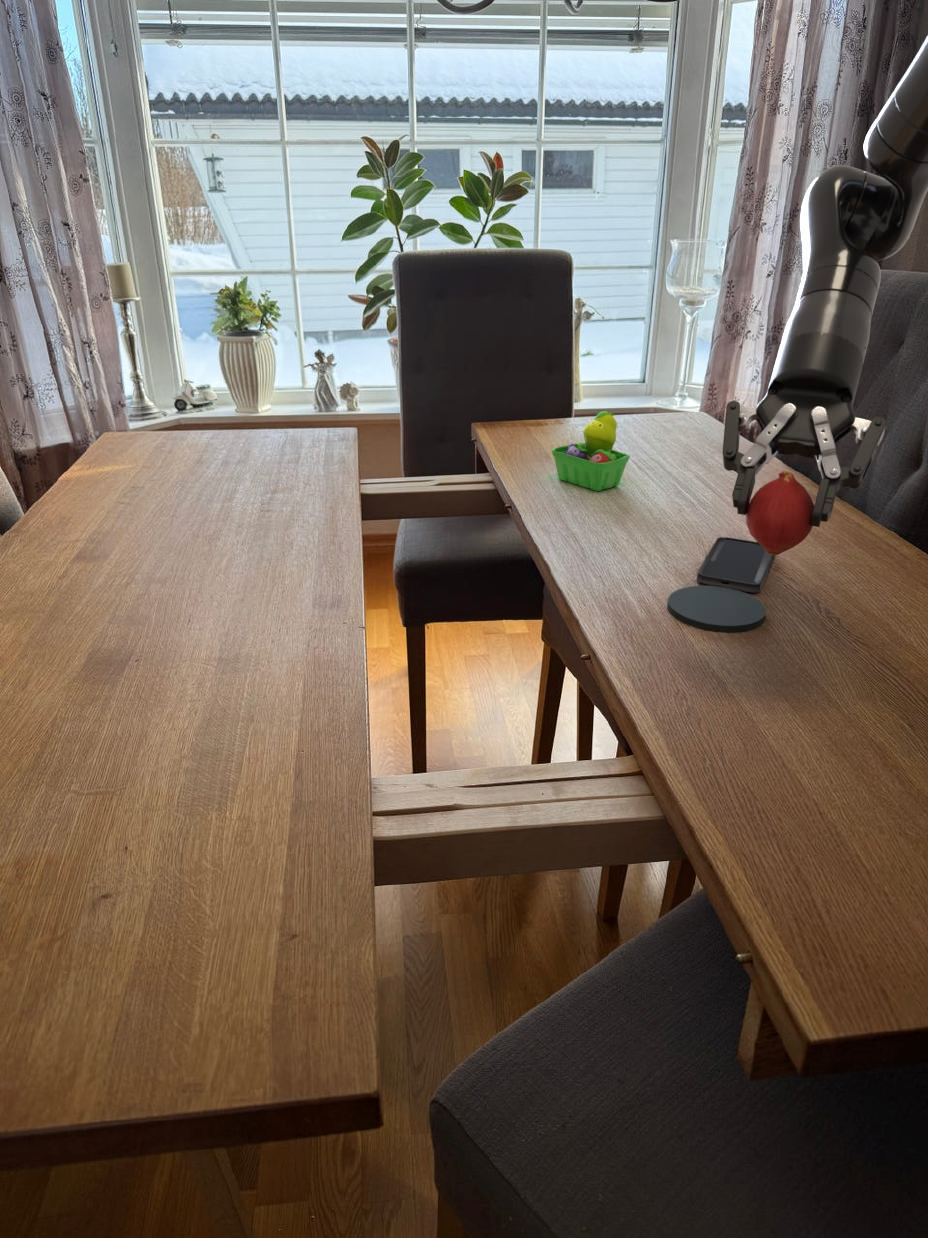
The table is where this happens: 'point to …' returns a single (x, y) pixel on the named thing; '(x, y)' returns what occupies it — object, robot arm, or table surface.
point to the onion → (780, 514)
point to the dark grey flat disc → (716, 608)
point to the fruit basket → (592, 456)
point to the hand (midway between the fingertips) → (778, 516)
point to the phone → (735, 565)
